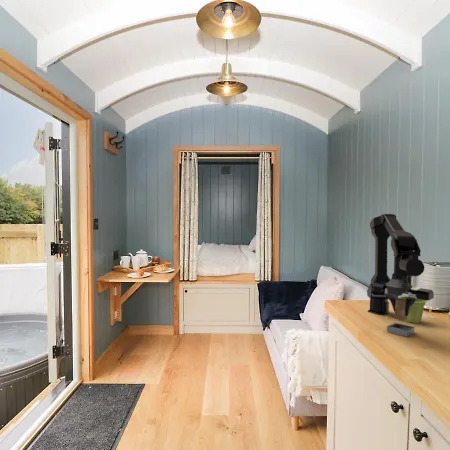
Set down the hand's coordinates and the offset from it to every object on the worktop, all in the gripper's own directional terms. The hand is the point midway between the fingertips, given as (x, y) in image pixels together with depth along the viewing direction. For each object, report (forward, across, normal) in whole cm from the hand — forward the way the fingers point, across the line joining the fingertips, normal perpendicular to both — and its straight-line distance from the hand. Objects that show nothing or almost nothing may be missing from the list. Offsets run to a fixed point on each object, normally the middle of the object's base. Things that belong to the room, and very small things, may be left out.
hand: (401, 314), depth 126 cm
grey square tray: (+6, 0, 0) cm, 6 cm away
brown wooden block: (+2, 0, 0) cm, 2 cm away
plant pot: (+7, -2, +17) cm, 18 cm away
